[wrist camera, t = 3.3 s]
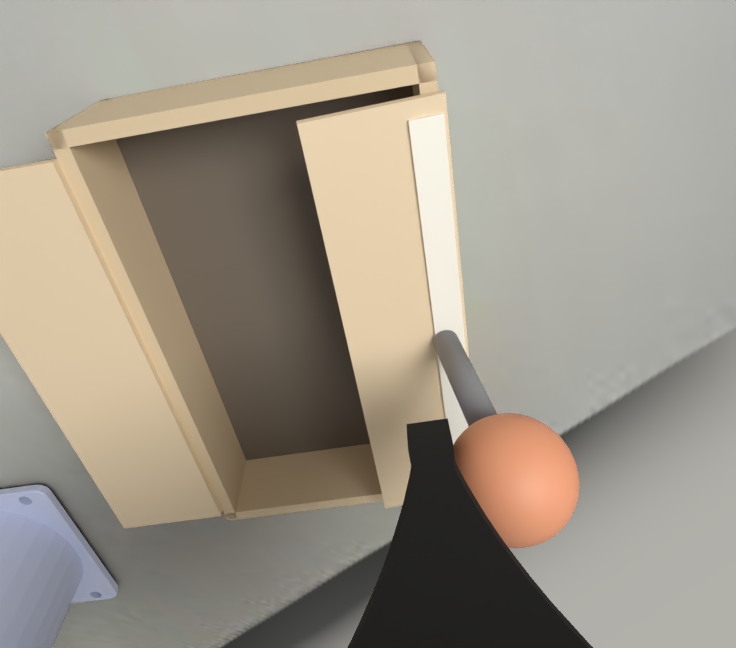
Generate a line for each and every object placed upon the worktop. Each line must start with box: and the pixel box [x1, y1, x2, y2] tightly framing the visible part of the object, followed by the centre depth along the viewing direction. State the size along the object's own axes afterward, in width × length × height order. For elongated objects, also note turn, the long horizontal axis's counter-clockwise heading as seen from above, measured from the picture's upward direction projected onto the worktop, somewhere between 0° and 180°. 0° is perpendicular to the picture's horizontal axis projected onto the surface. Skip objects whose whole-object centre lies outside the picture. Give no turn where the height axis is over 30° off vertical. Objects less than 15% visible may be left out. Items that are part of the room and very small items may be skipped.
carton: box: [0, 41, 438, 529], centre depth 18 cm, size 13×14×4 cm
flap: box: [296, 90, 579, 548], centre depth 13 cm, size 4×13×7 cm, turn 9°
